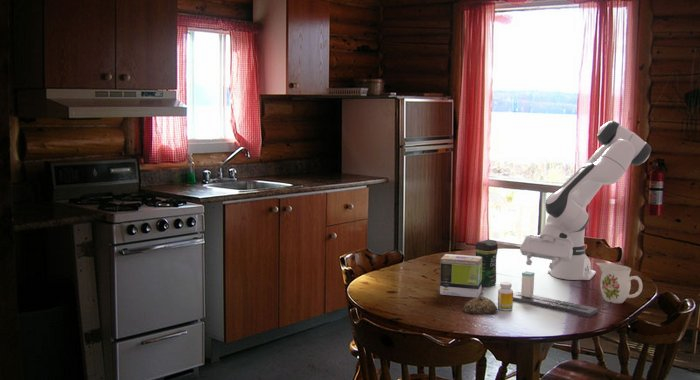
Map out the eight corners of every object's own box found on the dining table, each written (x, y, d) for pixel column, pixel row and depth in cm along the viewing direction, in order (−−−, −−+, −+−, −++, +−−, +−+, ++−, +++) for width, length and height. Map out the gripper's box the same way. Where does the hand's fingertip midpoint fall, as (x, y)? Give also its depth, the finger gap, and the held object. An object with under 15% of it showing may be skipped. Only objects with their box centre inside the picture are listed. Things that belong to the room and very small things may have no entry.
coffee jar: (486, 288, 296) (488, 243, 293) (470, 284, 301) (472, 240, 299) (499, 284, 303) (501, 240, 300) (483, 280, 308) (484, 237, 306)
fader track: (517, 295, 286) (517, 291, 286) (597, 312, 265) (597, 308, 265) (507, 299, 280) (507, 295, 280) (588, 317, 259) (589, 312, 259)
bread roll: (497, 316, 260) (497, 303, 259) (462, 314, 262) (462, 300, 261) (496, 306, 272) (497, 293, 271) (463, 304, 274) (463, 291, 274)
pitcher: (636, 309, 270) (638, 273, 268) (588, 300, 281) (590, 265, 279) (645, 302, 279) (648, 267, 277) (598, 294, 290) (600, 260, 288)
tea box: (481, 292, 290) (483, 255, 288) (477, 299, 280) (479, 261, 278) (444, 288, 295) (445, 252, 293) (439, 294, 285) (440, 257, 283)
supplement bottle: (494, 308, 269) (495, 282, 268) (505, 306, 271) (506, 280, 270) (504, 311, 264) (505, 285, 263) (515, 309, 267) (516, 284, 266)
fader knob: (524, 294, 281) (526, 271, 280) (533, 295, 279) (534, 272, 278) (521, 295, 279) (522, 272, 278) (529, 297, 276) (530, 274, 275)
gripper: (524, 229, 293) (512, 257, 287) (574, 236, 281) (562, 265, 274) (529, 238, 297) (517, 266, 291) (577, 246, 285) (566, 275, 278)
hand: (539, 266), depth 283 cm, fingers open, 8 cm apart
